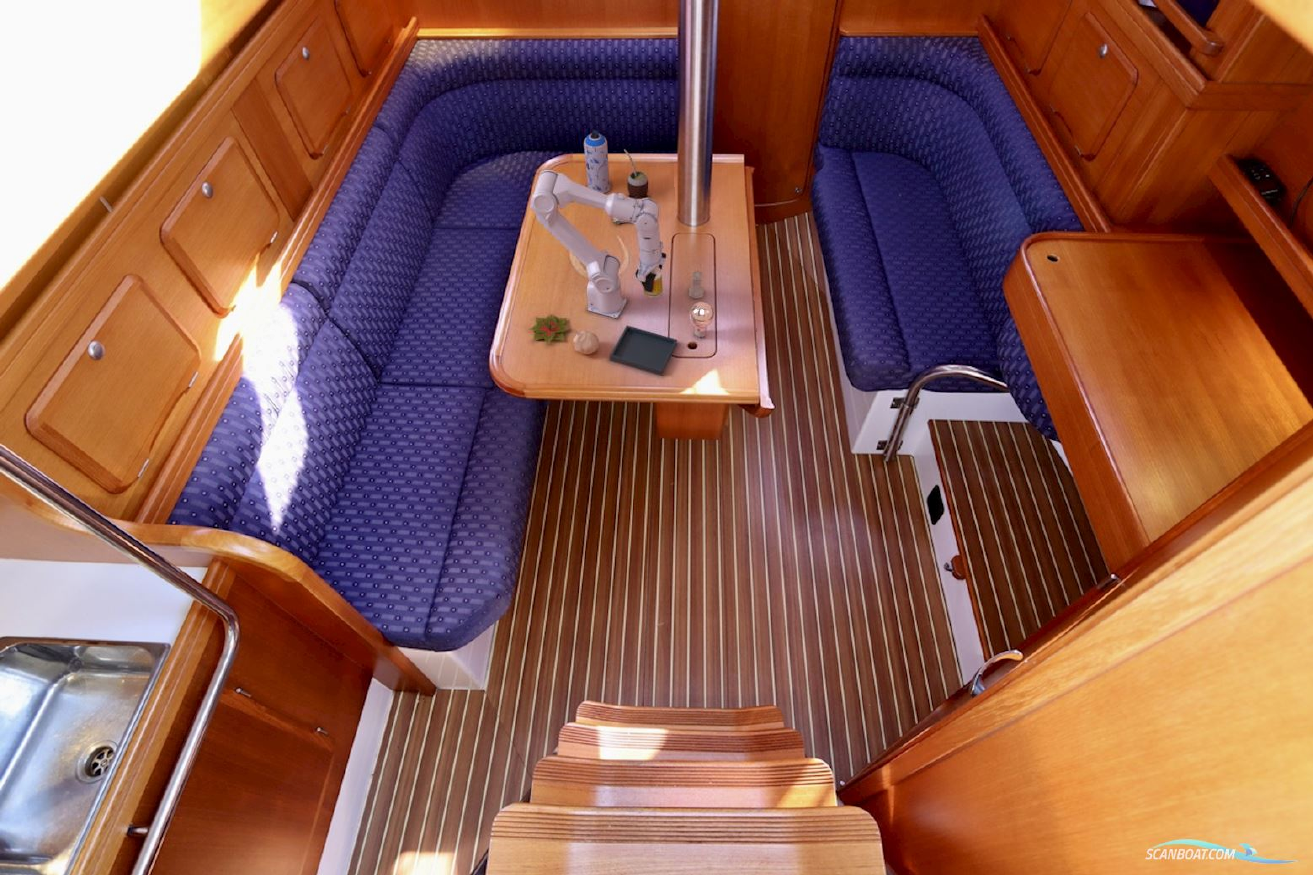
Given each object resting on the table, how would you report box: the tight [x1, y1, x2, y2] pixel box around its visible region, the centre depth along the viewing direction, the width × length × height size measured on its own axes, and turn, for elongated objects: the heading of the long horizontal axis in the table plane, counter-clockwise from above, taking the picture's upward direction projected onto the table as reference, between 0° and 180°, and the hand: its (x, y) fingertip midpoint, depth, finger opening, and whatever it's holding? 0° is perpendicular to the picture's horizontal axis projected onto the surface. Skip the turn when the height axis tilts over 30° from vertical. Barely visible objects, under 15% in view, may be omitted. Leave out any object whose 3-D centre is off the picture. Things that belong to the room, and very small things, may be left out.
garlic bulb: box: [572, 330, 600, 355], centre depth 177 cm, size 7×6×8 cm
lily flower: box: [530, 314, 571, 345], centre depth 183 cm, size 12×12×5 cm
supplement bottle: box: [643, 265, 664, 299], centre depth 180 cm, size 5×5×10 cm
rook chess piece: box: [688, 270, 704, 299], centre depth 190 cm, size 4×4×8 cm
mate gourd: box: [623, 148, 649, 199], centre depth 213 cm, size 8×8×15 cm
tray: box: [609, 325, 678, 377], centre depth 179 cm, size 15×12×2 cm
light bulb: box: [688, 300, 715, 338], centre depth 179 cm, size 7×7×12 cm
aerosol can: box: [583, 129, 611, 194], centre depth 213 cm, size 8×8×20 cm
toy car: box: [612, 217, 627, 226], centre depth 211 cm, size 4×8×3 cm, turn 104°
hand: (652, 284), depth 181 cm, fingers closed on supplement bottle, 5 cm apart
